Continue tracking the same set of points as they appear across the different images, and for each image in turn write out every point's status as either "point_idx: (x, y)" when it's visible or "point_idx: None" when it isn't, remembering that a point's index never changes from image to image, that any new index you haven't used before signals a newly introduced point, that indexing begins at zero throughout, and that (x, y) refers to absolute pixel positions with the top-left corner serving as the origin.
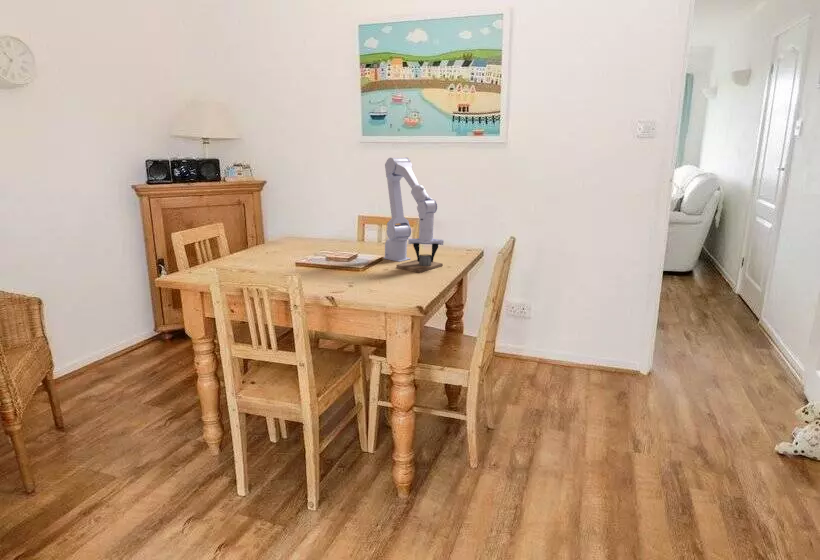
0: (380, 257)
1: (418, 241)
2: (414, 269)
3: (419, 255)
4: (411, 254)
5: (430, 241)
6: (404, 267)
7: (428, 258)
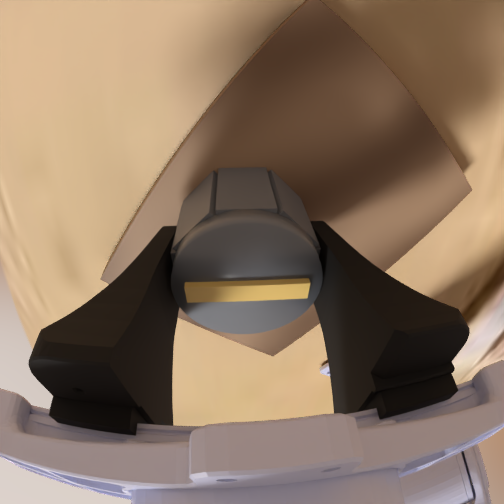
0: None
1: (434, 430)
2: (360, 39)
3: (322, 275)
4: (298, 412)
5: (149, 474)
6: (434, 129)
7: (203, 218)
